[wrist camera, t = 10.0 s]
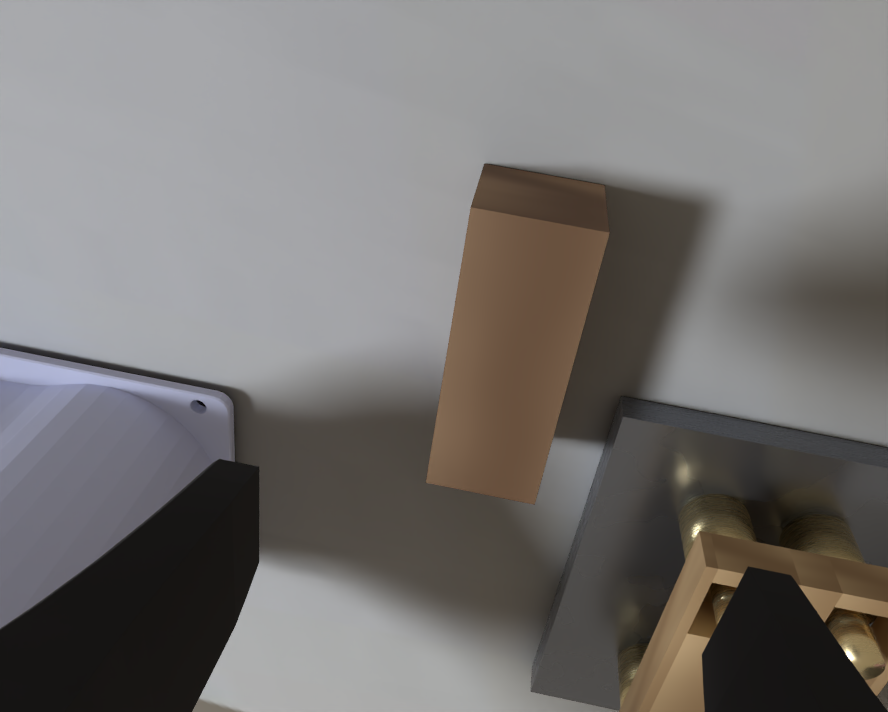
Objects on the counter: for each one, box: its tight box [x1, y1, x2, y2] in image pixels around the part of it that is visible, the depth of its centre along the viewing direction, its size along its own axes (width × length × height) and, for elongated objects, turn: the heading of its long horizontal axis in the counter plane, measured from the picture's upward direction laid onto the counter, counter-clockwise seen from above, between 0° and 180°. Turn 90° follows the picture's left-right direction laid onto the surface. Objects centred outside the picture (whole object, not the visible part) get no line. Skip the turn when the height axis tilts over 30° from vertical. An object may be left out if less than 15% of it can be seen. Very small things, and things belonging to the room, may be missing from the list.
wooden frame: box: [619, 531, 888, 712], centre depth 21 cm, size 6×10×1 cm, turn 173°
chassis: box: [531, 396, 888, 710], centre depth 23 cm, size 10×13×5 cm
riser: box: [426, 164, 610, 505], centre depth 19 cm, size 3×8×3 cm, turn 172°
